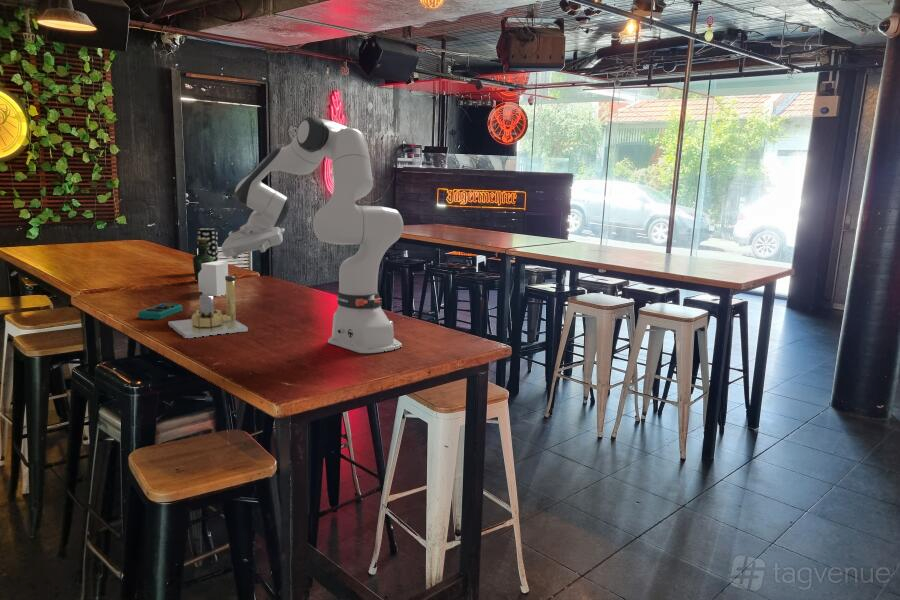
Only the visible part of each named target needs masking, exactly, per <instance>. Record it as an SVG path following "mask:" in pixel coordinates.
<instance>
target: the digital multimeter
mask: <svg viewBox="0 0 900 600" xmlns="http://www.w3.org/2000/svg"><path fill="white" fill-rule="evenodd" d="M183 309H184V308H183V305H182V304H180V303H175V302H163V303H160V304H157V305H155V306H151V307H149V308H145V309H142V310H140V311H139V312H138V313H137V314H138V319H140V318H142V319H141V320H150V319H154V320H153V321H161V320H163V319H165V318H167V316H168V317H170V316H172V314H173V315H175V314H178V313H181V312H183ZM180 311H181V312H180ZM177 312H178V313H177ZM174 313H175V314H174ZM169 315H170V316H169ZM162 318H163V319H162ZM160 319H161V320H160Z"/></svg>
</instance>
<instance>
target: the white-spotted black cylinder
mask: <svg viewBox="0 0 900 600" xmlns="http://www.w3.org/2000/svg"><path fill="white" fill-rule="evenodd" d="M196 233H197V234H196V235H197V237H196V238H197V239H198V238H206V239H207V242H206V244H209V246H210V247H209V248H207V253H206V254H208V255H210V256H212V258H213V262H214V261H219V249H218V248H219V245H218V244H219V242H218V229H217V228H215V227H214V228H213V227H212V228H211V227H210V228H209V227H202V228H197V229H196ZM197 244H199V243H198V242H197ZM198 254H199V251H198V250H197V255H198Z"/></svg>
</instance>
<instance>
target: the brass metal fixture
mask: <svg viewBox="0 0 900 600" xmlns="http://www.w3.org/2000/svg"><path fill="white" fill-rule="evenodd" d="M225 280H226V295H225V297H226V299H225V302H226V305H225V306H226V314H223V313H222V310H221V309H214V314H210V316H211V317H210V318H201V314H200V309H198V310H196V311H195V313H196V314H193V313H192V316H191V319H192V325H194V326H198V327H213V326H218V325H221V324H222V323H223V321H228V320H236V317H237V316H236V284H235V283H236V281H235V280H236V275H228V276H225Z"/></svg>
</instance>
